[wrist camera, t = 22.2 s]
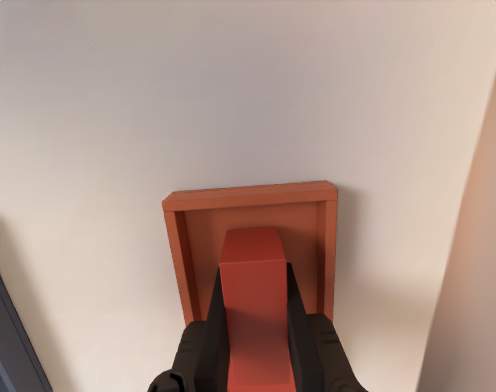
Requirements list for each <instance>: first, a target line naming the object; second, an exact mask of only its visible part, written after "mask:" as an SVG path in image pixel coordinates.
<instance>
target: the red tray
mask: <svg viewBox="0 0 496 392" xmlns="http://www.w3.org/2000/svg"><path fill="white" fill-rule="evenodd" d="M337 199H338V189H337V188H336V187H334V186H333V185H331V184H330V183H328V182H327V181H316V182H302V183H288V184H275V185H261V186H247V187H234V188H220V189H206V190H193V191H179V192H172V193H171V194H170V195H169V196H168V197H167V198H165V199H164V200H163V201H162V207H163V212H164V217H165V222H166V227H167V232H168V238H169V243H170V248H171V253H172V258H173V263H174V268H175V273H176V278H177V283H178V288H179V293H180V298H181V304H182V309H183V314H184V319H185V324H186V327H187V326H188V324H189V323H190V322H191V321H206V319H207V315H208V310H209V306H210V301H211V297H212V292H213V288H214V284H215V279H216V275H217V270H218V267H219V262H220V258H221V253H222V249H223V244H224V240H225V235H226V231H227V230H232V229H247V228H262V227H277V229H278V232H279V236H280V239H281V243H282V246H283V250H284V253H285V257H286V263H288V262H291V265H292V268H293V271H294V275H295V278H296V281H297V284H298V288H299V291H300V294H301V298H302V301H303V304H304V307H305V311H306V314H316V313H324V314H325V315H326V316H327V317H328V318H329V319H330V320H331V321H332V323H333V306H334V280H335V253H336V227H337ZM227 392H229V391H228V389H227Z"/></svg>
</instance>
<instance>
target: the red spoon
mask: <svg viewBox="0 0 496 392" xmlns="http://www.w3.org/2000/svg"><path fill="white" fill-rule="evenodd" d="M219 267H220V275H221V283H222V291H223V299H224V306H225V311H226V319H227V327H228V335H229V343H230V363H229V374H228V386H227V389H228V391H229V392H296V388H295V382H294V376H293V371H292V365H291V359H290V354H289V348H288V322H287V303H288V297H287V266H286V257H285V253H284V250H283V246H282V243H281V239H280V236H279V232H278V229H277V227H262V228H247V229H232V230H227V231H226V235H225V240H224V244H223V249H222V253H221V258H220V262H219Z"/></svg>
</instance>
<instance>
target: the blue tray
mask: <svg viewBox="0 0 496 392" xmlns="http://www.w3.org/2000/svg"><path fill="white" fill-rule="evenodd" d="M0 375H1V378H0V392H52V390H51V388H50V385H49V383H48V381H47V379H46V377H45V375H44V372H43V370H42V368H41V366H40V364H39V362H38V359H37V357H36V355H35V353H34V351H33V348H32V346H31V344H30V342H29V340H28V338H27V335H26V333H25V331H24V329H23V327H22V325H21V322H20V320H19V318H18V316H17V314H16V311H15V309H14V307H13V305H12V303H11V301H10V298H9V296H8V294H7V292H6V290H5V287H4V285H3V283H2V281H1V279H0Z"/></svg>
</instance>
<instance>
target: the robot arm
mask: <svg viewBox="0 0 496 392" xmlns="http://www.w3.org/2000/svg"><path fill="white" fill-rule="evenodd" d="M286 266H287V297H288V303H287V322H288V348H289V354H290V359H291V365H292V371H293V376H294V382H295V388H296V392H368V391H367V390H366V389H365V388H363V387H362V386H361V384H360V383H359V382H358V381H357V379H356V377H355V375H354V373H353V371H352V368H351V366H350V364H349V361H348V359H347V357H346V354H345V352H344V350H343V347H342V345H341V342H340V341H339V338H338V335H337V334H336V331H335V328H334V326H333V323H332V321H331V320H330V319H329V318H328V317H327V316H326V315H325V314H324V313H316V314H306V311H305V307H304V304H303V301H302V298H301V294H300V291H299V288H298V284H297V281H296V278H295V275H294V271H293V268H292V265H291V262H288V263H286ZM229 363H230V343H229V335H228V327H227V319H226V311H225V306H224V299H223V291H222V283H221V275H220V267H218V270H217V275H216V279H215V284H214V288H213V292H212V297H211V301H210V306H209V310H208V315H207V319H206V321H191V322H190V323H189V324H188V326H187V327H186V328H185V330H184V332H183V335H182V338H181V342H180V344H179V347H178V352H177V353H176V356H175V359H174V363H173V366H172V369H170V370H167V371H164V372H162V373H161V374H160V375H158V376H157V377H156V378H155V379H154V381H153V382H152V383H151V384H150V386H149V389H148V391H147V392H227V386H228V374H229Z"/></svg>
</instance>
